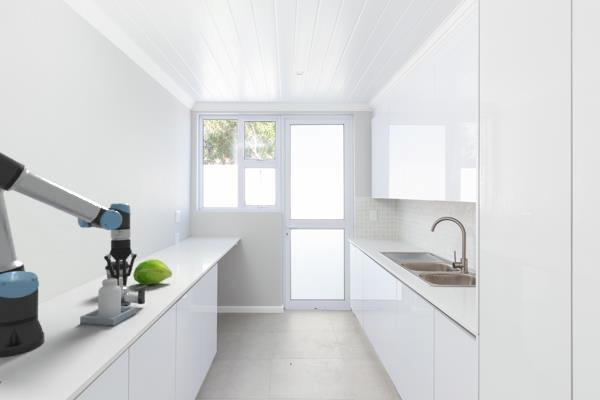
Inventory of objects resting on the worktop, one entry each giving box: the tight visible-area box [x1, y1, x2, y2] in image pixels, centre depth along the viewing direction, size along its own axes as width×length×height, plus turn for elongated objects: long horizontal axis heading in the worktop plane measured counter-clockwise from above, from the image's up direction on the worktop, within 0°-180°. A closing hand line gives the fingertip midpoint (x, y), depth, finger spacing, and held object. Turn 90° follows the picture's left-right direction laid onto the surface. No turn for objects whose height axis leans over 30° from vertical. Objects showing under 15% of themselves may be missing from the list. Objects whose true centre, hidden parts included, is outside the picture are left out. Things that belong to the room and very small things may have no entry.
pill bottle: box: [97, 278, 121, 318], centre depth 137 cm, size 8×8×15 cm
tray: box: [79, 306, 137, 327], centre depth 137 cm, size 14×14×3 cm
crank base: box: [121, 302, 131, 307], centre depth 159 cm, size 16×7×1 cm, turn 171°
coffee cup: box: [104, 260, 130, 286], centre depth 174 cm, size 11×11×15 cm
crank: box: [121, 285, 149, 305], centre depth 153 cm, size 15×6×8 cm, turn 71°
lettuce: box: [132, 258, 173, 286], centre depth 190 cm, size 15×20×14 cm
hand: (121, 292), depth 149 cm, fingers closed
